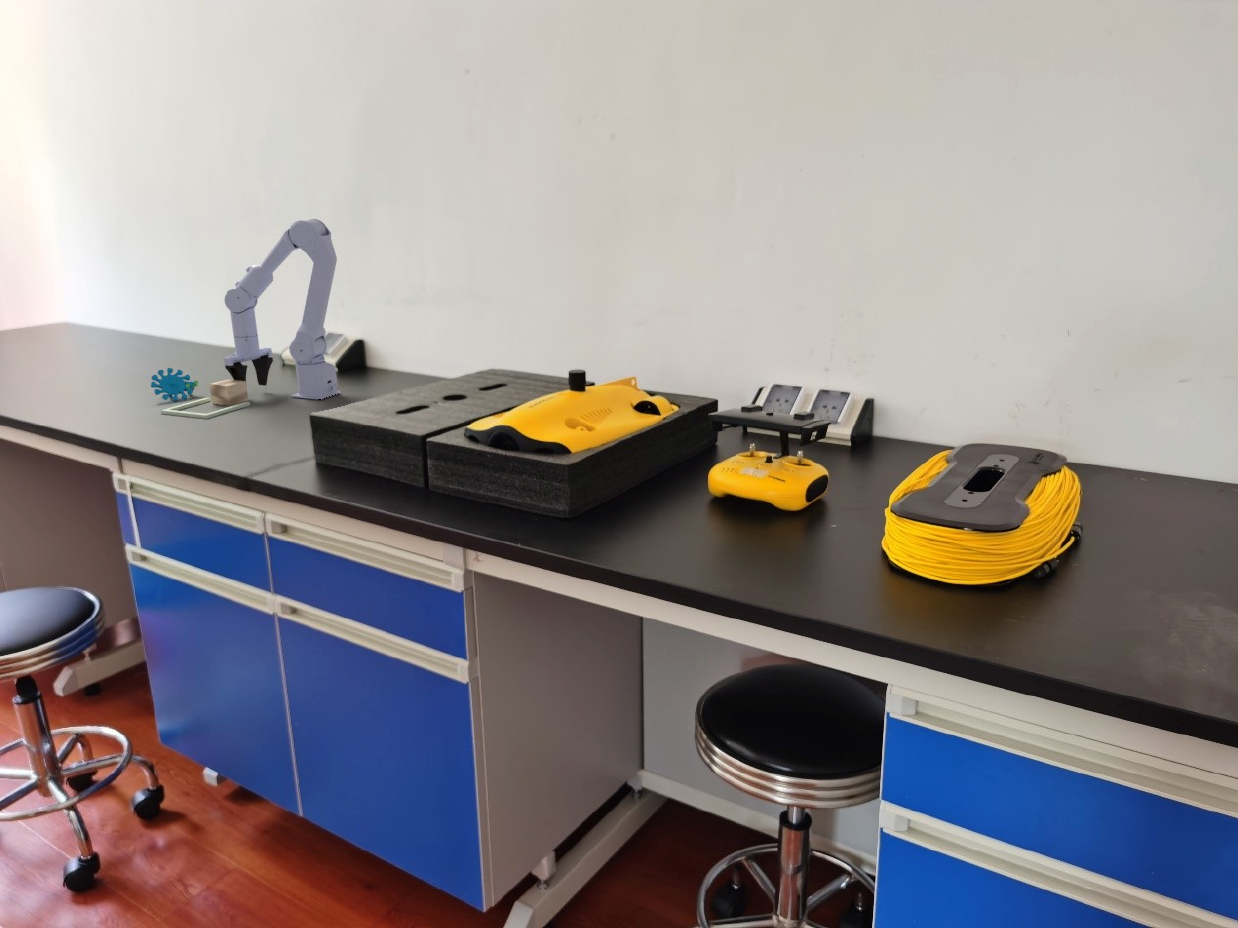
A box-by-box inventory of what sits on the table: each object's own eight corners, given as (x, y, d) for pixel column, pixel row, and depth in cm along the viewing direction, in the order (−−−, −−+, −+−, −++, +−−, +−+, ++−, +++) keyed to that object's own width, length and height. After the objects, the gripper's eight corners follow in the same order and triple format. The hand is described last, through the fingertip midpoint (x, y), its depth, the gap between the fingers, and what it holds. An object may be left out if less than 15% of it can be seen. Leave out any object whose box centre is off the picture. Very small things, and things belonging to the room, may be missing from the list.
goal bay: (250, 405, 225) (250, 402, 225) (206, 418, 213) (206, 415, 212) (206, 400, 230) (206, 397, 230) (161, 413, 218) (160, 410, 217)
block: (248, 400, 230) (245, 381, 228) (229, 405, 225) (226, 386, 223) (231, 398, 232) (228, 379, 231) (212, 403, 227) (209, 384, 226)
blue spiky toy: (153, 398, 226) (148, 366, 230) (151, 411, 230) (146, 379, 234) (201, 398, 232) (195, 366, 236) (198, 411, 236) (192, 379, 240)
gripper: (254, 330, 239) (260, 381, 243) (211, 339, 226) (219, 392, 230) (275, 332, 236) (281, 383, 240) (233, 341, 223) (241, 395, 227)
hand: (252, 388), depth 235 cm, fingers open, 7 cm apart
